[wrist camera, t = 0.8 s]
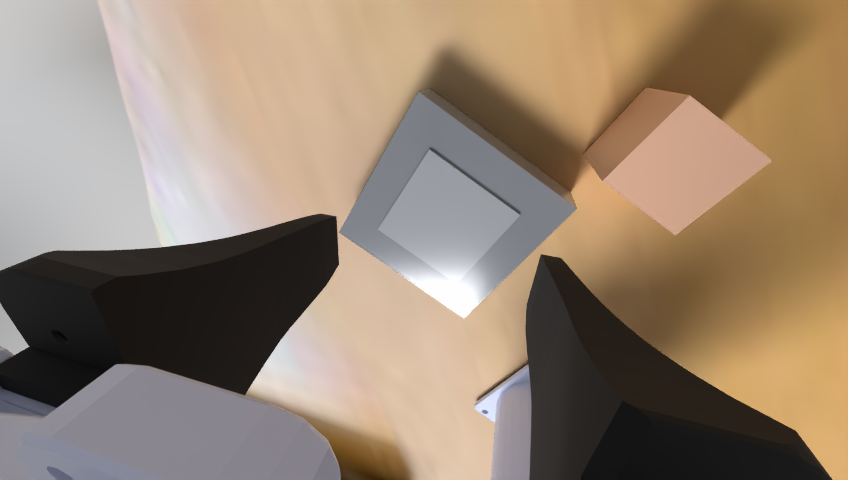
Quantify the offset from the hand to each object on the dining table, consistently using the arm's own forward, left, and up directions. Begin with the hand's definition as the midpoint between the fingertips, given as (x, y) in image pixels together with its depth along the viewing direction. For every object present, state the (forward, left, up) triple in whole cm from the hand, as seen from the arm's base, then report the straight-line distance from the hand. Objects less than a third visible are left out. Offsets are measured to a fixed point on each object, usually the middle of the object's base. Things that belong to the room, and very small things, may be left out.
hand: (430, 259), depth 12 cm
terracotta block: (-6, -7, -10) cm, 14 cm away
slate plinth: (0, +2, -10) cm, 11 cm away
